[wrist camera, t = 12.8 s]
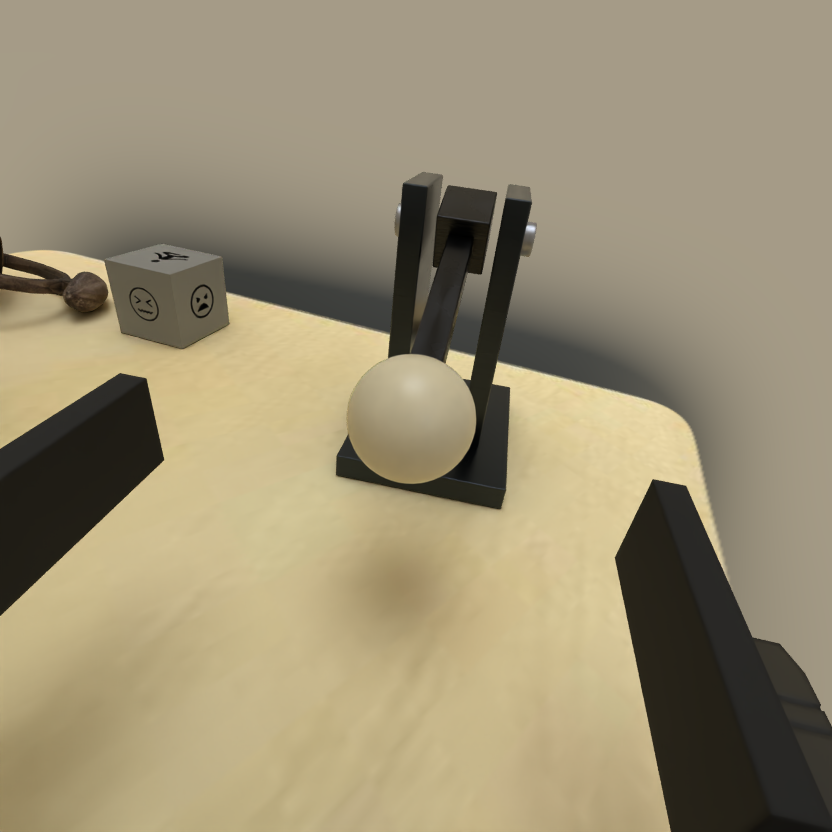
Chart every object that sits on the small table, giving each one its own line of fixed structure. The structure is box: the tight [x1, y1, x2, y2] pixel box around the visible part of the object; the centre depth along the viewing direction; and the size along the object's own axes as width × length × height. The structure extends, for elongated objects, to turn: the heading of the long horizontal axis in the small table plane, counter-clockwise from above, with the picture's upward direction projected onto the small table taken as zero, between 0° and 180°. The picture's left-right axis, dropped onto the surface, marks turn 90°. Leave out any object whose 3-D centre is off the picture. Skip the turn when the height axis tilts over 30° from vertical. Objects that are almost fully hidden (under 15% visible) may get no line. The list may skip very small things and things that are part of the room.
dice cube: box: [104, 244, 229, 349], centre depth 34 cm, size 5×5×5 cm
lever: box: [347, 185, 497, 484], centre depth 18 cm, size 14×4×4 cm, turn 169°
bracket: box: [336, 172, 537, 509], centre depth 24 cm, size 10×8×13 cm
